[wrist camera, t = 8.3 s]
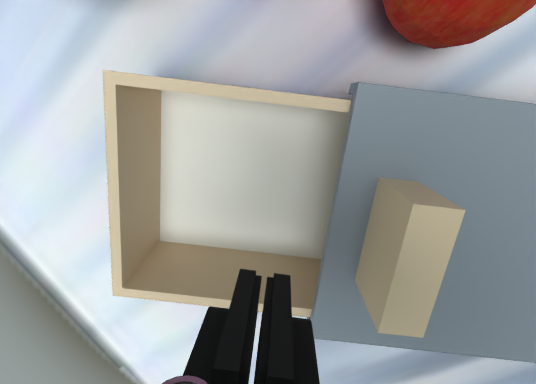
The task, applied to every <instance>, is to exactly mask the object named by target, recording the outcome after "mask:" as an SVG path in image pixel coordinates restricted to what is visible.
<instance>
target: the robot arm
mask: <svg viewBox="0 0 536 384" xmlns="http://www.w3.org/2000/svg"><path fill="white" fill-rule="evenodd" d="M261 280H262V276H259V275H256V271H255V270H248V269H240V271H239V274H238V278H237V281H236V285H235V289H234V292H233V296H232V300H231V303H230V307H229V309H227V308H220V307H212V306H210V307H209V308H208V310H207V313H206V315H205V318H204V321H203V323H202V326H201V329H200V331H199V334H198V337H197V339H196V342H195V345H194V347H193V350H192V352H191V355H190V358H189V360H188V363H187V366H186V368H185V371H184V374H183V376H178V377H174V378H172V379H169V380H167V381H165V382H164V383H162V384H248V382H249V374H250V367H251V359H252V351H253V344H254V336H255V328H256V320H257V312H258V304H259V296H260V288H261ZM254 384H320V383H319V375H318V367H317V359H316V352H315V344H314V336H313V328H312V322H311V320H309V319H302V318H294V317H292V306H291V277H290V275H286V274H278V273H274V276H273V277H267V282H266V289H265V297H264V305H263V312H262V320H261V328H260V335H259V343H258V351H257V360H256V369H255V378H254Z"/></svg>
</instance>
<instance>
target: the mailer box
mask: <svg viewBox="0 0 536 384" xmlns="http://www.w3.org/2000/svg"><path fill="white" fill-rule="evenodd" d="M103 89H104V111H105V134H106V156H107V179H108V201H109V223H110V246H111V268H112V291H113V296H122V297H131V298H140V299H149V300H158V301H167V302H176V303H185V304H194V305H203V306H212V307H221V308H229V307H230V303H231V300H232V296H233V292H234V289H235V285H236V281H237V278H238V274H239V271H240V269H248V270H255V271H256V275H259V276H262V280H261V288H260V296H259V304H258V312H263V305H264V297H265V289H266V282H267V277H273V276H274V273H278V274H286V275H290V277H291V306H292V315H294V316H303V317H311V312H312V306H313V301H314V296H315V290H316V285H317V280H318V275H319V269H320V264H321V259H322V254H323V248H324V243H325V238H326V233H327V227H328V222H329V217H330V212H331V206H332V201H333V196H334V191H335V185H336V180H337V175H338V170H339V164H340V159H341V154H342V148H343V143H344V138H345V133H346V127H347V122H348V117H349V112H350V106H351V101H352V100H345V99H337V98H329V97H320V96H312V95H304V94H296V93H288V92H279V91H271V90H263V89H255V88H247V87H238V86H230V85H222V84H214V83H205V82H197V81H189V80H181V79H173V78H164V77H156V76H148V75H140V74H131V73H123V72H115V71H107V70H103Z"/></svg>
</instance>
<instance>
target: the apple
mask: <svg viewBox="0 0 536 384" xmlns="http://www.w3.org/2000/svg"><path fill="white" fill-rule="evenodd" d="M383 4H384V8H385V11H386V15H387V17H388V19H389V21H390V22H391V24H392V26H393V27H394V29H395V30H396V31H397V32H399V33H400V34H401V35H402V36H403V37H404V38H406V39H407V40H408V41H409V42H412V43H415V44H419V45H422V46H426V47H429V48H433V49H437V48H445V47H452V46H459V45H464V44H469V43H473V42H475V41H477V40H479V39H481V38H483V37H485V36H487V35H489V34H491V33H492V32H494V31H496V30H498V29H500V28H501V27H503V26H505V25H507V24H509V23H511V22H512V21H514V20H516V19H517V18H518V17H520V16H521V15H522V14H524V13H525V12H527V11H528V10H529V9H531V8H532V7H533V6H534V5H535V4H536V0H383Z"/></svg>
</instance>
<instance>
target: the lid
mask: <svg viewBox="0 0 536 384" xmlns="http://www.w3.org/2000/svg"><path fill="white" fill-rule="evenodd" d="M349 94H353V96H352V101H351V106H350V112H349V117H348V122H347V127H346V133H345V138H344V143H343V148H342V154H341V159H340V164H339V170H338V175H337V180H336V185H335V191H334V196H333V201H332V206H331V212H330V217H329V222H328V227H327V233H326V238H325V243H324V248H323V254H322V259H321V264H320V269H319V275H318V280H317V285H316V290H315V296H314V301H313V306H312V312H311V317H307V319H309V320H311V322H312V328H313V336H314V339H323V340H332V341H342V342H351V343H360V344H369V345H378V346H387V347H396V348H406V349H415V350H424V351H433V352H442V353H451V354H460V355H470V356H479V357H488V358H497V359H506V360H515V361H524V362H534V363H536V104H532V103H523V102H515V101H507V100H499V99H491V98H483V97H474V96H466V95H458V94H450V93H442V92H434V91H426V90H417V89H409V88H401V87H393V86H385V85H377V84H368V83H360V82H358V83H352V84H351V85H350V90H349Z"/></svg>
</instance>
